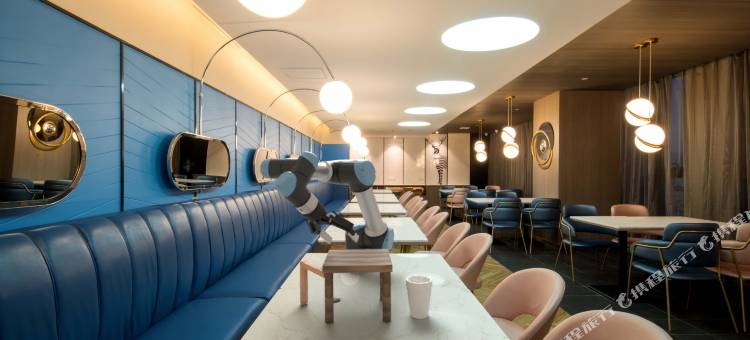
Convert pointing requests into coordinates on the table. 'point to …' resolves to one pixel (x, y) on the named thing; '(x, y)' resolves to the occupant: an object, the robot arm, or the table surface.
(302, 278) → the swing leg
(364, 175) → the robot arm
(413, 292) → the foam cup
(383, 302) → the stool
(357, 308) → the table surface
